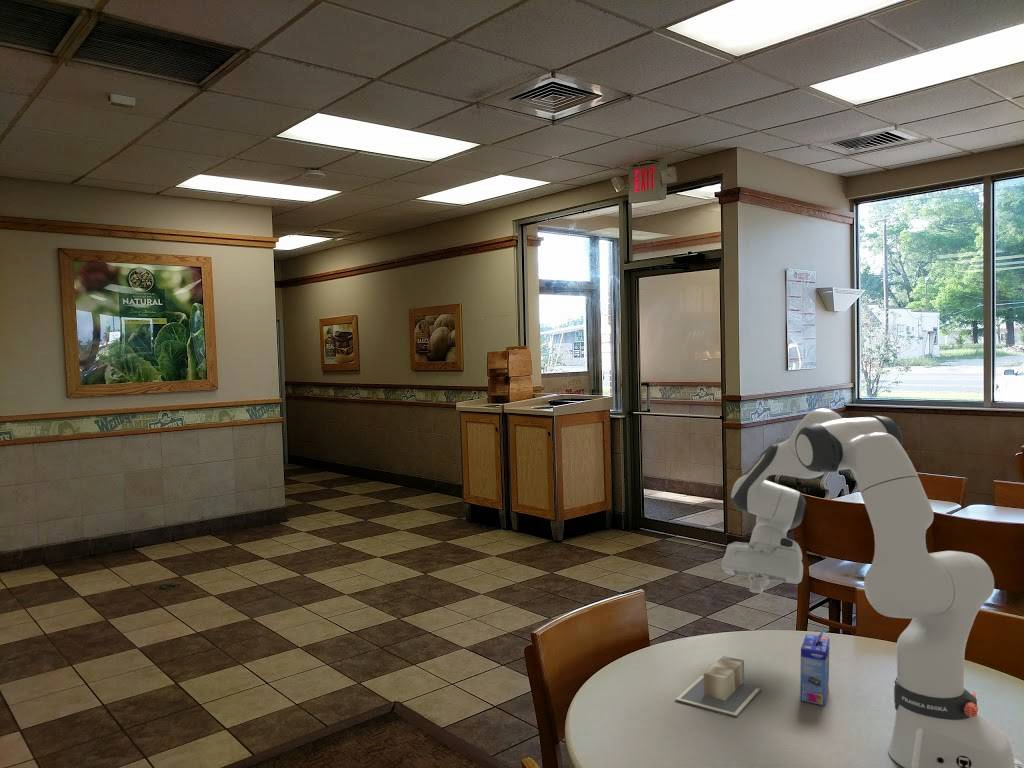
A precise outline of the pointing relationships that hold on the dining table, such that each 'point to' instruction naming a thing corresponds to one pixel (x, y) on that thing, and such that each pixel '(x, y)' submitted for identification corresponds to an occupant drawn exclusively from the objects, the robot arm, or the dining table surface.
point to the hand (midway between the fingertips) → (755, 591)
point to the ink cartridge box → (814, 669)
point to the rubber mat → (728, 707)
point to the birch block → (723, 677)
